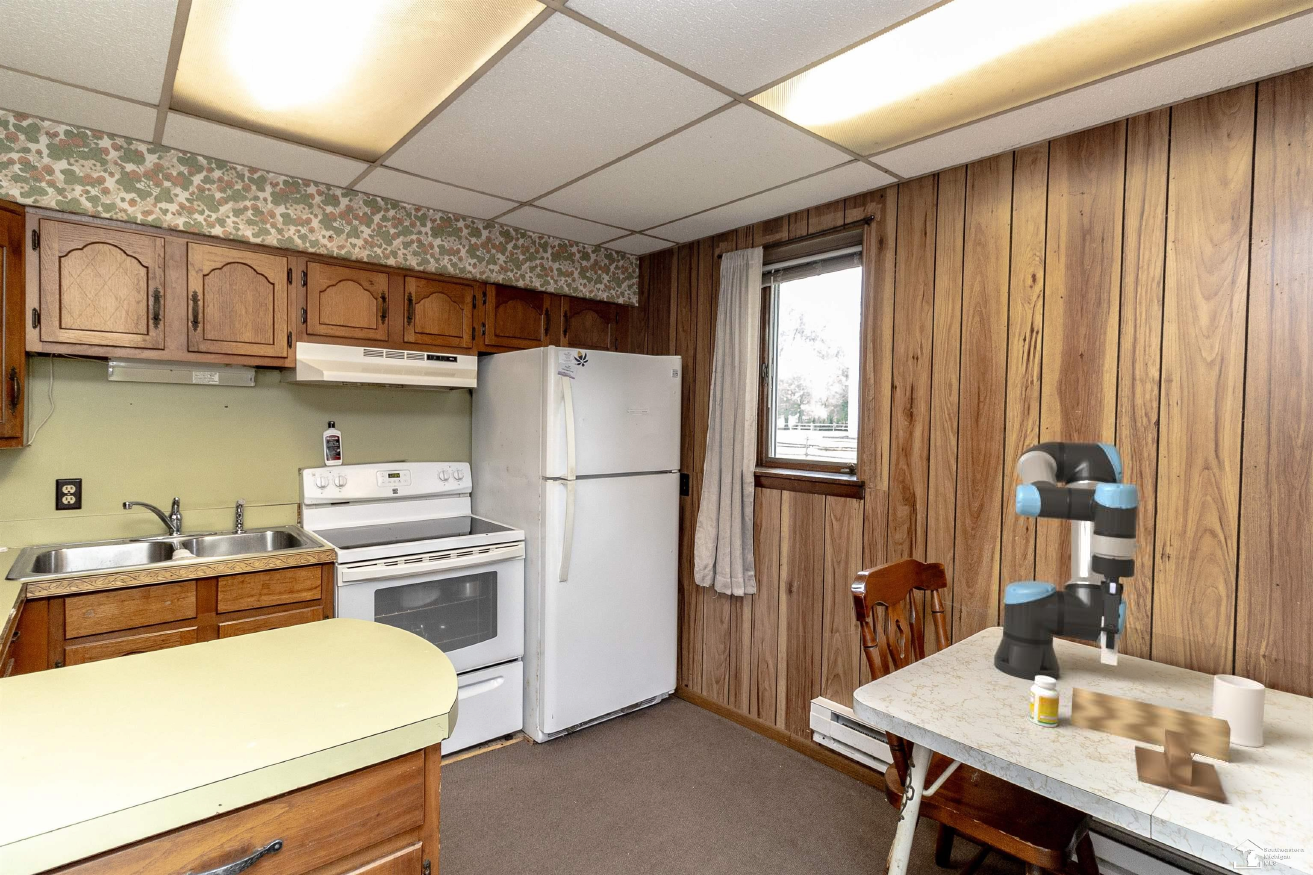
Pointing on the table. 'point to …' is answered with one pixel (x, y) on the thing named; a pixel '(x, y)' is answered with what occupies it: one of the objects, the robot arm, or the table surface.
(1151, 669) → the table surface
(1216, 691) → the mug
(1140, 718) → the plank
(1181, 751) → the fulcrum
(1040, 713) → the supplement bottle
